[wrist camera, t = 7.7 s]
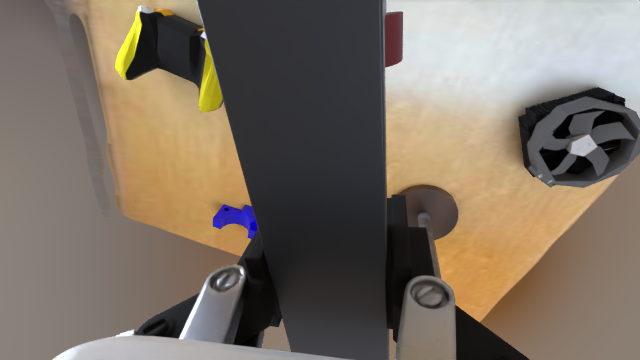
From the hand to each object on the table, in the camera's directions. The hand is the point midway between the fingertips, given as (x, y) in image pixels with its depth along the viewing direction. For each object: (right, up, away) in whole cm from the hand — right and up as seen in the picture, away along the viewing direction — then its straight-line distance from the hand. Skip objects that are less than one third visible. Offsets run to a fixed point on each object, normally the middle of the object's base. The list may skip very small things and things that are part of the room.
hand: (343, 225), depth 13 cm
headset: (+2, +5, +9) cm, 10 cm away
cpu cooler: (+30, +8, +26) cm, 40 cm away
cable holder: (-15, -4, +43) cm, 46 cm away
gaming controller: (-20, +20, +30) cm, 41 cm away
